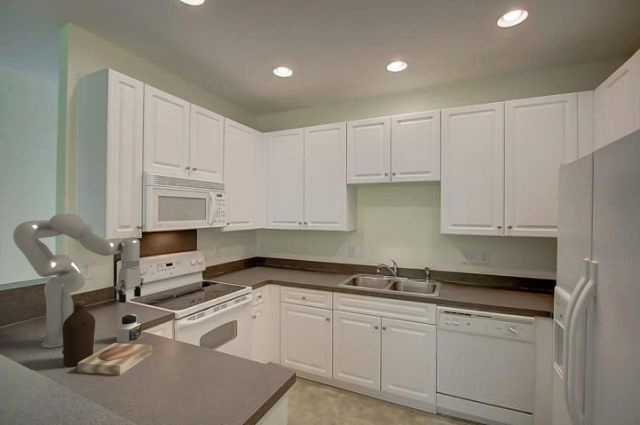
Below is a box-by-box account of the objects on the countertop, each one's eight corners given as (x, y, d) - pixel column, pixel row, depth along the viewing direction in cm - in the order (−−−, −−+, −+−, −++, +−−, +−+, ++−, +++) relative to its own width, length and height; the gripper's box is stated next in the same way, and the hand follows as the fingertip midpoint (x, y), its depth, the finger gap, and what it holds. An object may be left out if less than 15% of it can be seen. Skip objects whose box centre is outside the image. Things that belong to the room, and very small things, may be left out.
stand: (77, 371, 114) (77, 361, 114) (114, 350, 132) (114, 341, 132) (120, 375, 112) (120, 364, 112) (152, 353, 130) (152, 344, 130)
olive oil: (101, 356, 127) (102, 298, 127) (78, 368, 116) (80, 305, 116) (78, 354, 128) (79, 297, 128) (54, 367, 117) (55, 304, 117)
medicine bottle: (129, 344, 139) (129, 318, 139) (116, 342, 140) (116, 317, 140) (141, 337, 146) (141, 313, 146) (128, 336, 147) (129, 312, 147)
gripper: (136, 261, 152) (135, 294, 152) (108, 267, 135) (108, 304, 135) (149, 261, 152) (149, 294, 151) (123, 267, 134) (123, 305, 134)
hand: (130, 299), depth 143 cm, fingers open, 9 cm apart
